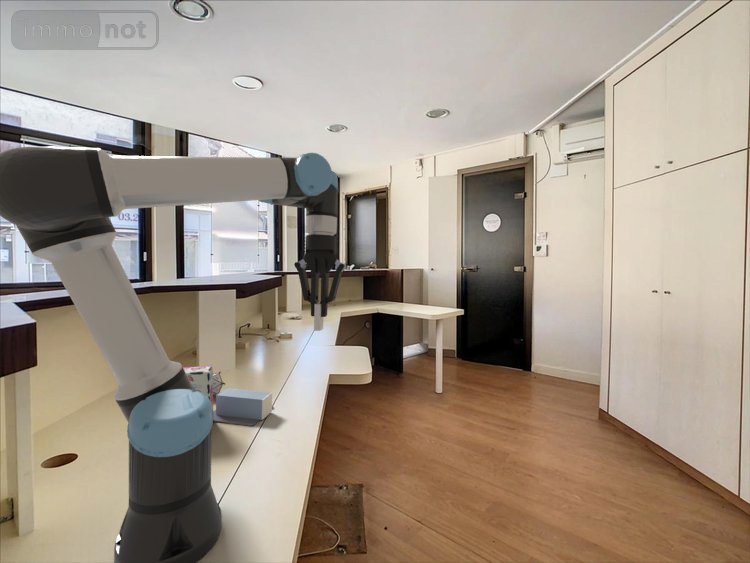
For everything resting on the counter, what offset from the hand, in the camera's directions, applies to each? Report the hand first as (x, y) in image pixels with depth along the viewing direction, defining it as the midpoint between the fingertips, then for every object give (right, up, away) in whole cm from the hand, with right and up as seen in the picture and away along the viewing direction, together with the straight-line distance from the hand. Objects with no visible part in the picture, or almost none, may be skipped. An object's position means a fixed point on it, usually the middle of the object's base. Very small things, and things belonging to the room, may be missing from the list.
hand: (318, 329), depth 84 cm
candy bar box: (-38, -29, +11) cm, 49 cm away
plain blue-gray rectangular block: (-19, -26, +18) cm, 36 cm away
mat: (-28, -29, +19) cm, 44 cm away
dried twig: (-43, -28, +33) cm, 61 cm away
